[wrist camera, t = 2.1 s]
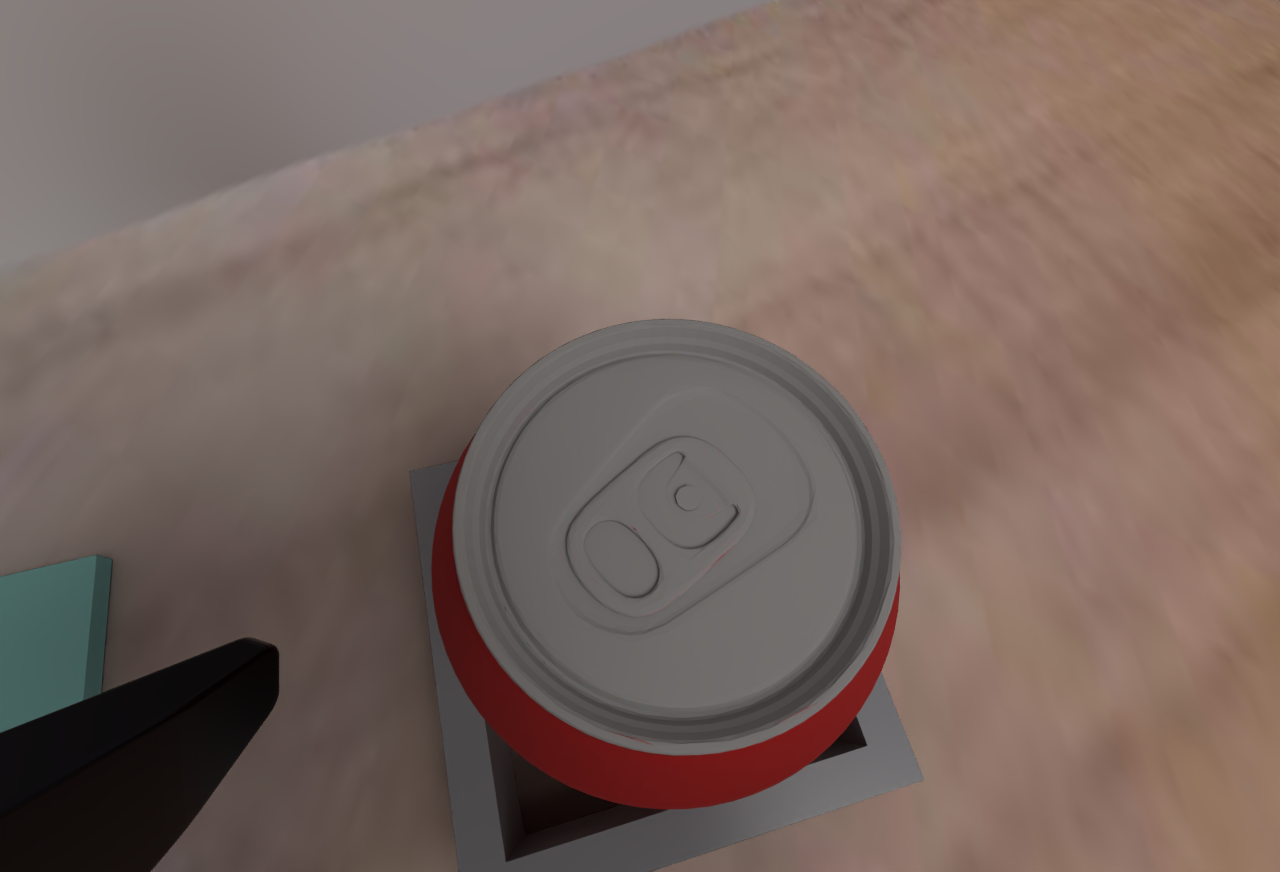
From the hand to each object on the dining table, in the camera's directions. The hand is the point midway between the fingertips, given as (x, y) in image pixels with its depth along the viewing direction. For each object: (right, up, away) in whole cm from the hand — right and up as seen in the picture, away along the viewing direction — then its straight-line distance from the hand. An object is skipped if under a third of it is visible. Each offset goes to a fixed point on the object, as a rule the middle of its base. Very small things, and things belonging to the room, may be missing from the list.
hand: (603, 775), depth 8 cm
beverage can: (0, -2, +11) cm, 11 cm away
